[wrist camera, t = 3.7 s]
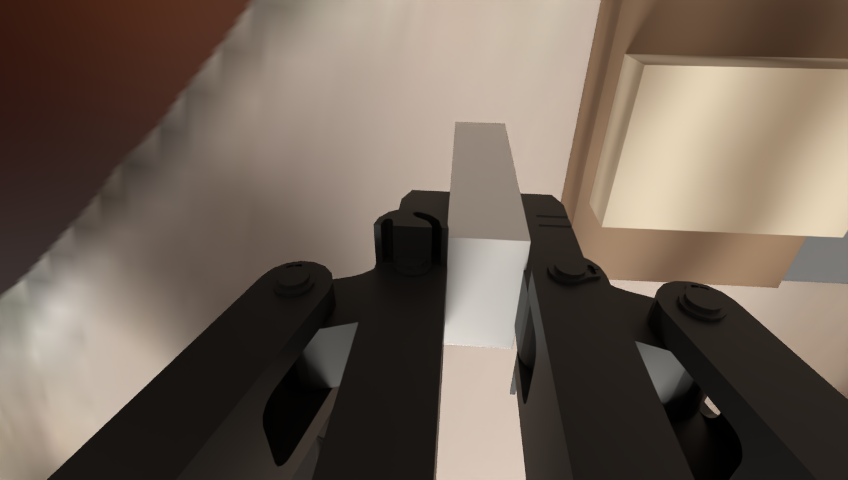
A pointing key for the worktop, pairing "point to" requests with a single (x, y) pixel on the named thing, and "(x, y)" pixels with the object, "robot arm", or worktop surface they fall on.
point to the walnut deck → (701, 36)
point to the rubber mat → (820, 261)
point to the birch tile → (727, 146)
